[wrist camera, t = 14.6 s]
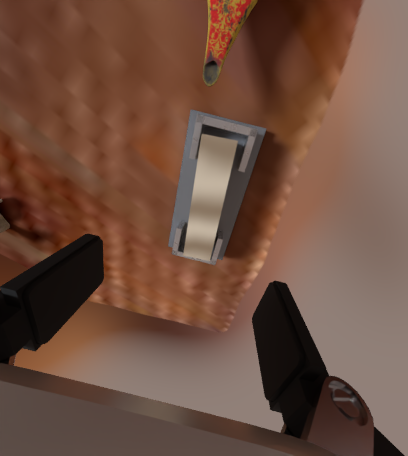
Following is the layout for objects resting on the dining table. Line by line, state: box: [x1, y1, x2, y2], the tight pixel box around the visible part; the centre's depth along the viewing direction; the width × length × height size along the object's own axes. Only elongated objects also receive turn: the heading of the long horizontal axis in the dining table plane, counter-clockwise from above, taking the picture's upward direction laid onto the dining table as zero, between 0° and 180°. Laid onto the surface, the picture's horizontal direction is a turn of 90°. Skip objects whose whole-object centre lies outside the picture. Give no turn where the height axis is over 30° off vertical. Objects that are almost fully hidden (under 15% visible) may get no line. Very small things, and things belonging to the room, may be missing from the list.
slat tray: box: [168, 110, 266, 260], centre depth 27 cm, size 21×10×2 cm, turn 167°
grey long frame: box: [172, 114, 258, 265], centre depth 25 cm, size 20×7×3 cm, turn 167°
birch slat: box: [183, 134, 238, 261], centre depth 24 cm, size 16×4×5 cm, turn 170°
